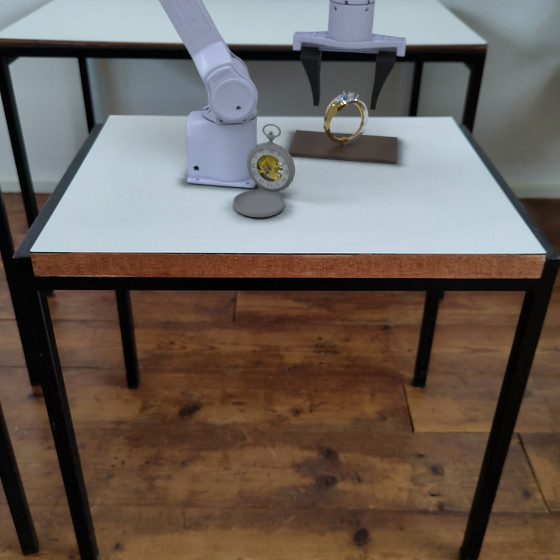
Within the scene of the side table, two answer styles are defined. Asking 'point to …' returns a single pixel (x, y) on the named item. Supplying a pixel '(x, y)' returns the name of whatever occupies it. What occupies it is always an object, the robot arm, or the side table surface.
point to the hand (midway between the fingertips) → (344, 105)
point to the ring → (333, 110)
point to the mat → (344, 147)
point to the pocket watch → (266, 178)
